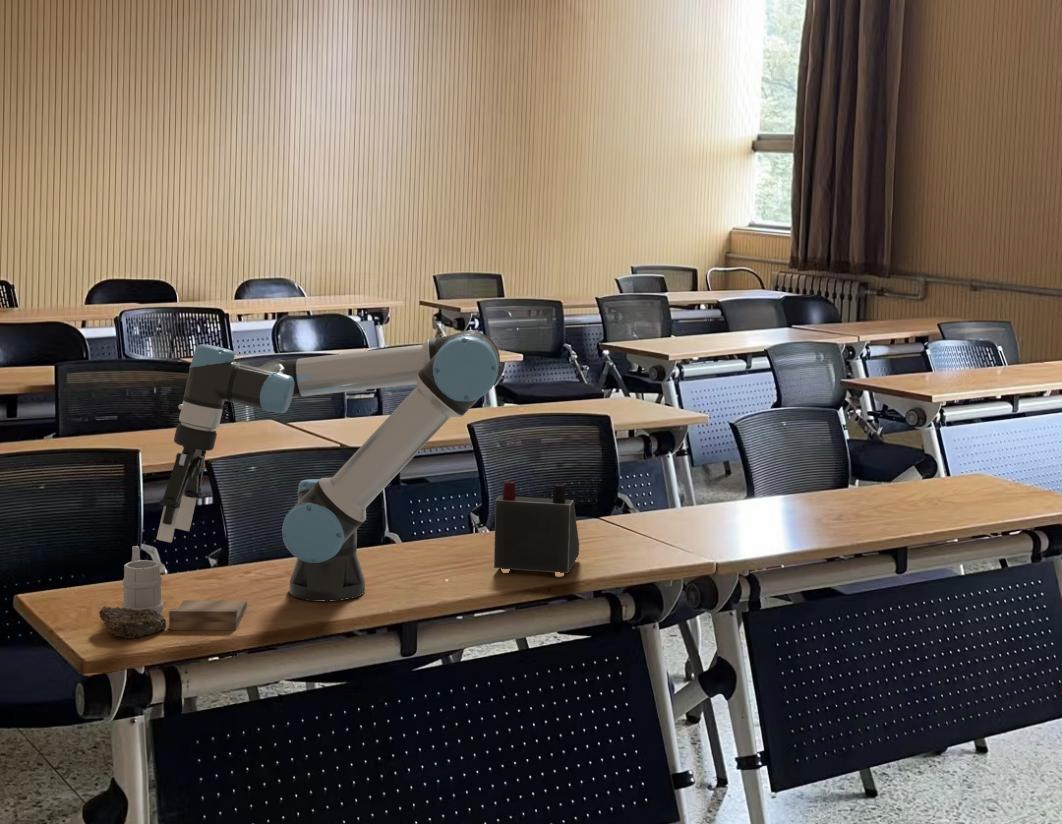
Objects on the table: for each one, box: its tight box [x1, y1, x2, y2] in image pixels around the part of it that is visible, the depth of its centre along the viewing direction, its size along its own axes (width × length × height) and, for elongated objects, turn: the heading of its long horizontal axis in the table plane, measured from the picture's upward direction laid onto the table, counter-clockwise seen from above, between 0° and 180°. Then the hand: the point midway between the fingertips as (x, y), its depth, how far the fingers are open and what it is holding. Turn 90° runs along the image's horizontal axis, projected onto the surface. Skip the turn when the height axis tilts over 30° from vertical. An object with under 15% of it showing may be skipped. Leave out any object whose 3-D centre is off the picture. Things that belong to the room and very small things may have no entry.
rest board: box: [168, 599, 248, 631], centre depth 258 cm, size 12×14×4 cm
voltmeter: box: [493, 480, 580, 574], centre depth 301 cm, size 16×16×20 cm
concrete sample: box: [98, 605, 167, 640], centre depth 249 cm, size 12×10×5 cm
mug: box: [121, 545, 165, 616], centre depth 260 cm, size 8×12×12 cm, turn 27°
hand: (173, 535), depth 261 cm, fingers open, 13 cm apart
